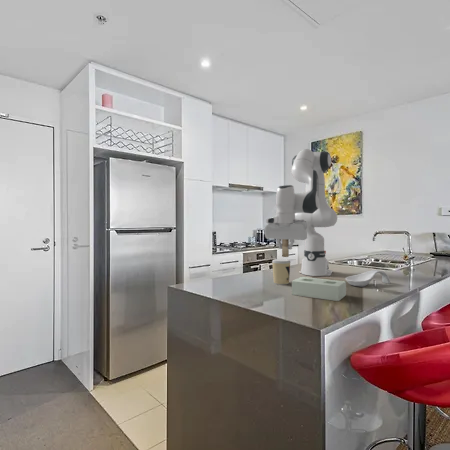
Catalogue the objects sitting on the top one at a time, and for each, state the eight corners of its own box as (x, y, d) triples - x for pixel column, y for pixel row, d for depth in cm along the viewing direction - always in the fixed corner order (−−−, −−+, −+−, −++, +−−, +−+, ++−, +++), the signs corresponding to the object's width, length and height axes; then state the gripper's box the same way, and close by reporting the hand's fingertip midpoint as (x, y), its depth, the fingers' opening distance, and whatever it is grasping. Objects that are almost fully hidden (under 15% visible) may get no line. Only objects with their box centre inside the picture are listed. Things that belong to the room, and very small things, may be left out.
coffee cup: (290, 285, 157) (290, 261, 156) (271, 284, 159) (271, 261, 158) (290, 281, 166) (290, 259, 166) (272, 281, 168) (272, 258, 167)
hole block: (301, 289, 148) (301, 276, 148) (345, 295, 136) (345, 281, 136) (291, 294, 138) (291, 281, 138) (338, 301, 126) (338, 286, 126)
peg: (283, 256, 150) (283, 235, 149) (289, 256, 148) (289, 235, 148) (281, 256, 147) (281, 235, 147) (287, 257, 145) (287, 235, 145)
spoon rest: (356, 289, 149) (356, 274, 148) (340, 284, 160) (340, 270, 160) (395, 285, 156) (395, 271, 156) (377, 281, 167) (377, 267, 167)
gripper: (309, 219, 144) (309, 249, 144) (269, 219, 155) (269, 247, 156) (304, 219, 138) (304, 250, 139) (263, 219, 150) (263, 248, 151)
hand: (285, 249), depth 147 cm, fingers closed on peg, 3 cm apart
